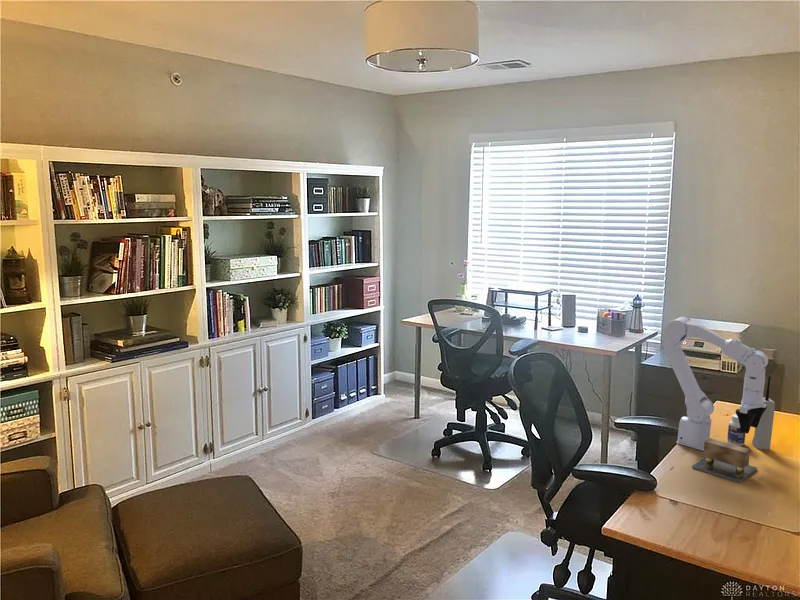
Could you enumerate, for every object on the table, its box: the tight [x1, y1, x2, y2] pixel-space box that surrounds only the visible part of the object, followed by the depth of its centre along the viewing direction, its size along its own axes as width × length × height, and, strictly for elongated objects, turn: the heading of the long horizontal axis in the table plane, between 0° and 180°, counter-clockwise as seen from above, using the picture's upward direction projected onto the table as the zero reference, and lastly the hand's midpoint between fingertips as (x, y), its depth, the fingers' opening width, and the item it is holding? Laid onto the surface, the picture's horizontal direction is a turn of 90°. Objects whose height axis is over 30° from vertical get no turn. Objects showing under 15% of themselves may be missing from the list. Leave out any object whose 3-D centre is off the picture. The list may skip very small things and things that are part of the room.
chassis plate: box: [691, 457, 758, 484], centre depth 202 cm, size 14×14×3 cm
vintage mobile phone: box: [751, 375, 776, 451], centre depth 218 cm, size 4×5×25 cm
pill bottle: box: [726, 413, 747, 447], centre depth 223 cm, size 5×5×10 cm
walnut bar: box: [702, 437, 751, 468], centre depth 201 cm, size 12×4×5 cm, turn 43°
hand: (749, 429), depth 210 cm, fingers open, 7 cm apart
